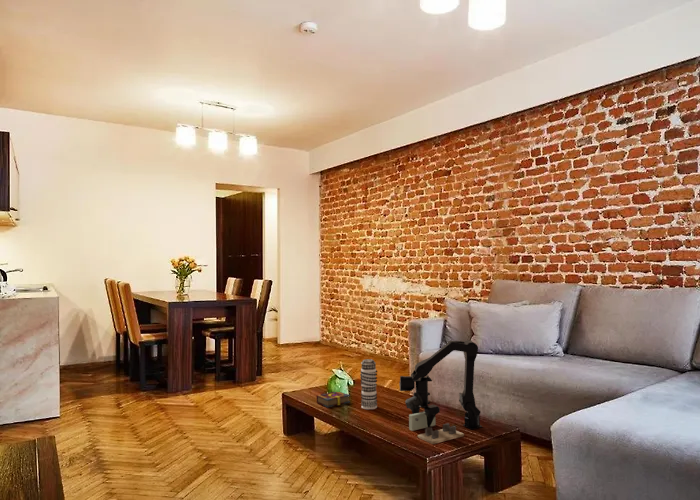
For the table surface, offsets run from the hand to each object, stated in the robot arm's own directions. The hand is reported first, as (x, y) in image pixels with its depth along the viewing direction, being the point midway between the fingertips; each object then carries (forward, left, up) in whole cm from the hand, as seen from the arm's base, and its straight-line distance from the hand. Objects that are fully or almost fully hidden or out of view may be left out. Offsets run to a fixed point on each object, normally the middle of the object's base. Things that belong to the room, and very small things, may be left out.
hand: (422, 424), depth 235 cm
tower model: (+3, -41, -2) cm, 41 cm away
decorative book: (+15, -59, -2) cm, 61 cm away
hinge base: (+1, +14, -2) cm, 14 cm away
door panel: (0, 0, -2) cm, 2 cm away
